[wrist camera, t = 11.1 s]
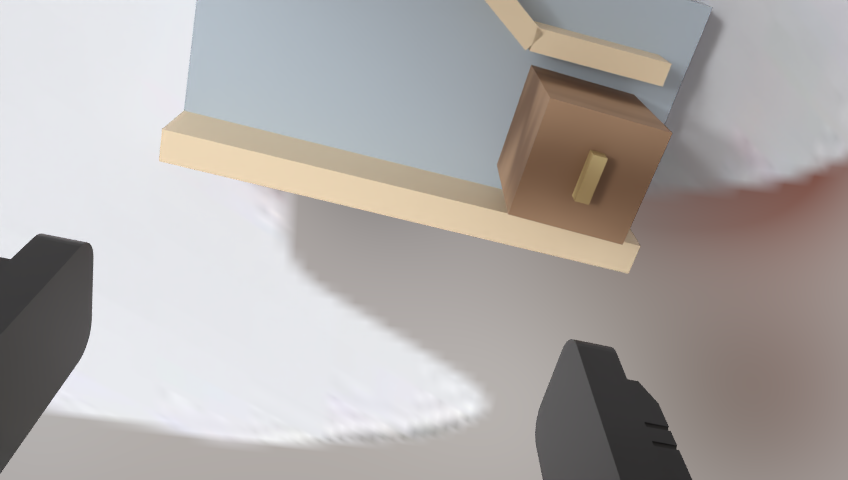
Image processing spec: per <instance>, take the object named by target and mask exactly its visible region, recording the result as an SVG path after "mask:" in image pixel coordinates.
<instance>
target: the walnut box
mask: <svg viewBox="0 0 848 480" xmlns="http://www.w3.org/2000/svg"><path fill="white" fill-rule="evenodd" d="M671 135H672V132H671V131H670V130H669V129H668V128H667V127H666V126H665V125H664V124H663V123H662V122H661V121H660V120H659V119H658V118H657V117H656V116H655V115H654V114H653V113H652V112H651V111H650V110H649V109H648V108H647V107H646V106H645V105H644V104H643V103H642V102H641V101H640V100H639V99H638V98H637V97H636V96H635V95H634V94H630V93H627V92H623V91H620V90H617V89H613V88H610V87H606V86H603V85H599V84H596V83H592V82H589V81H586V80H582V79H579V78H575V77H572V76H568V75H565V74H561V73H558V72H555V71H551V70H548V69H544V68H541V67H537V66H534V65H531V67H530V70H529V73H528V75H527V78H526V81H525V84H524V87H523V90H522V93H521V96H520V99H519V102H518V105H517V107H516V110H515V113H514V116H513V119H512V122H511V125H510V128H509V131H508V134H507V137H506V140H505V142H504V145H503V148H502V151H501V154H500V157H499V160H498V163H497V168H498V173H499V177H500V181H501V186H502V190H503V194H504V199H505V203H506V207H507V212H508V215H512V216H516V217H520V218H523V219H527V220H531V221H535V222H538V223H542V224H546V225H550V226H553V227H557V228H561V229H565V230H568V231H572V232H576V233H580V234H583V235H587V236H591V237H595V238H598V239H602V240H606V241H610V242H613V243H617V244H621V245H623V243H624V241H625V238H626V236H627V234H628V232H629V229H630V227H631V225H632V223H633V221H634V218H635V216H636V214H637V211H638V209H639V207H640V205H641V203H642V200H643V198H644V196H645V194H646V191H647V189H648V187H649V185H650V182H651V180H652V178H653V176H654V173H655V171H656V169H657V167H658V164H659V162H660V160H661V158H662V155H663V153H664V151H665V149H666V146H667V144H668V142H669V140H670V137H671Z"/></svg>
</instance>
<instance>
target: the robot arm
mask: <svg viewBox="0 0 848 480" xmlns="http://www.w3.org/2000/svg"><path fill="white" fill-rule="evenodd" d="M92 287H93V249H92V246H91V245H90V244H89V243H87V242H82V241H77V240H72V239H66V238H61V237H56V236H51V235H46V234H38V235H36V236H35V237H34V238H33V239H32V240H31V241H30V242H29V243H27V244H26V245H25V246H24V247H23V248H22V249H21V250H20V251H19V252H18V253H17V254H16V255H15V256H14V257H13V258H12V259H6V258H1V257H0V473H1V472H2V470H3V469H4V468H5V466H6V465H7V463H8V462H9V460H10V459H11V458H12V456H13V455H14V453H15V452H16V450H17V449H18V447H19V446H20V445H21V443H22V442H23V440H24V439H25V437H26V436H27V435H28V433H29V432H30V430H31V429H32V428H33V426H34V425H35V423H36V422H37V420H38V419H39V418H40V416H41V415H42V413H43V412H44V410H45V409H46V408H47V406H48V405H49V403H50V402H51V400H52V399H53V398H54V396H55V395H56V393H57V392H58V390H59V389H60V388H61V386H62V385H63V383H64V382H65V380H66V379H67V378H68V376H69V375H70V373H71V372H72V370H73V369H74V368H75V366H76V365H77V363H78V362H79V360H80V359H81V357H82V355H83V353H84V350H85V348H86V345H87V342H88V339H89V335H90V330H91V321H92ZM668 427H669V426H668V424H667V422H666V420H665V417H664V415H663V413H662V411H661V409H660V406H659V404H658V403H657V402H656V400H655V399H654V398H653V397H652V396H651V395H650V394H649V393H648V392H647V391H646V389H645V388H644V387H643V386H642V385H641V384H640V383H639V382H638V381H633V380H628V379H627V378H626V376H625V373H624V370H623V368H622V366H621V363H620V361H619V358H618V356H617V353H616V351H615V350H614V348H612V347H608V346H603V345H598V344H593V343H588V342H582V341H578V340H572V339H571V340H569V341H568V342H567V343H566V344H565V345H564V347H563V350H562V352H561V355H560V357H559V360H558V362H557V365H556V367H555V370H554V372H553V375H552V377H551V380H550V383H549V385H548V388H547V390H546V393H545V395H544V398H543V401H542V403H541V406H540V408H539V412H538V416H537V422H536V431H535V438H536V447H537V452H538V457H539V462H540V467H541V472H542V477H543V480H692V478H691V476H690V474H689V472H688V469H687V467H686V465H685V463H684V460H683V458H682V456H681V454H680V451H679V450H676V447H677V445H676V442H675V440H674V438H673V436H672V433H671V431H668Z"/></svg>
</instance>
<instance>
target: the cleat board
mask: <svg viewBox="0 0 848 480" xmlns="http://www.w3.org/2000/svg"><path fill="white" fill-rule="evenodd" d="M712 8H713V7H710V6H708V5H705V4H702V3H699V2H695V1H692V0H197V2H196V11H195V20H194V28H193V37H192V46H191V55H190V63H189V72H188V81H187V89H186V98H185V107H184V111H183V112H182V113H181V114H179V115H178V116H177V117H176V118H175V119H174V120H172V121H171V122H170V123H169V124H168V125H166V126H165V127H164V128H163V129H162V136H161V146H160V156H159V161H161V162H165V163H169V164H174V165H178V166H182V167H186V168H190V169H194V170H199V171H203V172H207V173H211V174H215V175H219V176H224V177H228V178H232V179H236V180H240V181H244V182H249V183H253V184H257V185H261V186H265V187H269V188H274V189H278V190H282V191H286V192H290V193H294V194H299V195H303V196H307V197H311V198H315V199H320V200H324V201H328V202H332V203H336V204H340V205H345V206H349V207H353V208H357V209H361V210H365V211H370V212H374V213H378V214H382V215H387V216H390V217H394V218H399V219H403V220H407V221H411V222H415V223H419V224H424V225H428V226H432V227H436V228H441V229H444V230H449V231H453V232H457V233H461V234H465V235H469V236H474V237H478V238H482V239H486V240H490V241H494V242H499V243H503V244H507V245H511V246H515V247H519V248H524V249H528V250H532V251H536V252H541V253H544V254H549V255H553V256H557V257H561V258H565V259H569V260H573V261H578V262H582V263H587V264H590V265H594V266H599V267H603V268H607V269H611V270H615V271H619V272H624V273H629V271H630V269H631V267H632V264H633V262H634V260H635V257H636V255H637V253H638V251H639V248H640V244H639V243H638V241H637V239H636V238H635V236H634V234H633V232H632V231H631V229H629V232H628V234H627V236H626V238H625V241H624V243H623V245H621V244H617V243H613V242H610V241H606V240H602V239H598V238H595V237H591V236H587V235H583V234H580V233H576V232H572V231H568V230H565V229H561V228H557V227H553V226H550V225H546V224H542V223H538V222H535V221H531V220H527V219H523V218H520V217H516V216H512V215H508V212H507V207H506V203H505V199H504V194H503V190H502V186H501V181H500V177H499V173H498V168H497V163H498V160H499V157H500V154H501V151H502V148H503V145H504V142H505V140H506V137H507V134H508V131H509V128H510V125H511V122H512V119H513V116H514V113H515V110H516V107H517V105H518V102H519V99H520V96H521V93H522V90H523V87H524V84H525V81H526V78H527V75H528V73H529V70H530V67H531V65H534V66H537V67H541V68H544V69H548V70H551V71H555V72H558V73H561V74H565V75H568V76H572V77H575V78H579V79H582V80H586V81H589V82H592V83H596V84H599V85H603V86H606V87H610V88H613V89H617V90H620V91H623V92H627V93H630V94H634V95H635V96H636V97H637V98H638V99H639V100H640V101H641V102H642V103H643V104H644V105H645V106H646V107H647V108H648V109H649V110H650V111H651V112H652V113H653V114H654V115H655V116H656V117H657V118H658V119H659V120H660V121H661V122H662V123H663V124H665V122H666V119H667V117H668V114H669V112H670V110H671V107H672V105H673V102H674V100H675V98H676V95H677V93H678V90H679V88H680V85H681V83H682V81H683V78H684V76H685V73H686V71H687V68H688V66H689V64H690V61H691V59H692V56H693V54H694V52H695V49H696V47H697V44H698V42H699V39H700V37H701V35H702V32H703V30H704V27H705V25H706V23H707V20H708V18H709V15H710V13H711V10H712Z"/></svg>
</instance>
